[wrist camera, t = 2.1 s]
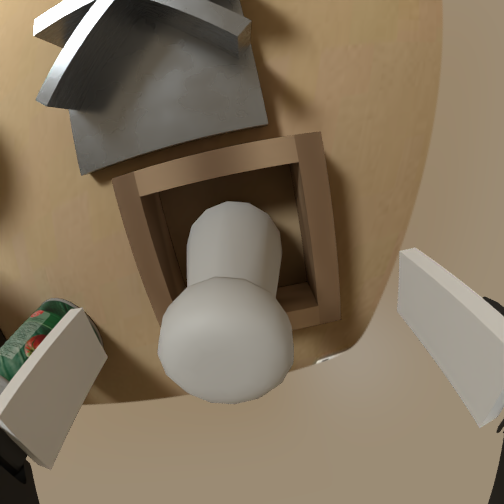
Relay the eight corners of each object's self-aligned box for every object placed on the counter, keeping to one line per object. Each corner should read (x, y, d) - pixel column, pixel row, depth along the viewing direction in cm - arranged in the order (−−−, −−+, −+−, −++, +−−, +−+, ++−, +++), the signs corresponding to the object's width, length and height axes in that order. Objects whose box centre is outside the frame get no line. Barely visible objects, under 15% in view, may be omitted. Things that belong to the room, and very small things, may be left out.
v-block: (89, 173, 18) (48, 184, 13) (70, 37, 14) (34, 20, 9) (266, 125, 17) (275, 116, 12) (232, -18, 13) (230, -57, 8)
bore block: (178, 321, 22) (169, 348, 19) (132, 172, 18) (111, 178, 15) (328, 294, 22) (341, 319, 18) (306, 134, 17) (320, 131, 14)
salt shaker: (281, 269, 21) (322, 417, 9) (203, 279, 21) (164, 429, 9) (271, 189, 19) (323, 266, 6) (187, 201, 19) (97, 295, 7)
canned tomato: (31, 324, 22) (-25, 390, 12) (54, 281, 21) (-20, 354, 10) (85, 374, 25) (45, 451, 14) (118, 341, 23) (70, 435, 13)
